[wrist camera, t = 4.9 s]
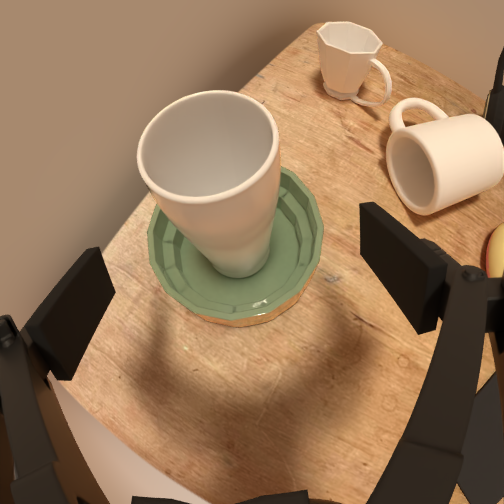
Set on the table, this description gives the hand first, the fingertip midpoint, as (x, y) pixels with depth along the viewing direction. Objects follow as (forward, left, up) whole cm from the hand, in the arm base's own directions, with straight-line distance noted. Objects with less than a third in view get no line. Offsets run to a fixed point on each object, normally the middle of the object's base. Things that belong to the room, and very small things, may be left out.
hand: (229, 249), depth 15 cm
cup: (+23, +13, -12) cm, 29 cm away
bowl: (+2, +4, -12) cm, 13 cm away
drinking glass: (+2, +4, -12) cm, 13 cm away
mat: (+13, -27, -12) cm, 32 cm away
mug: (+23, +1, -12) cm, 26 cm away
